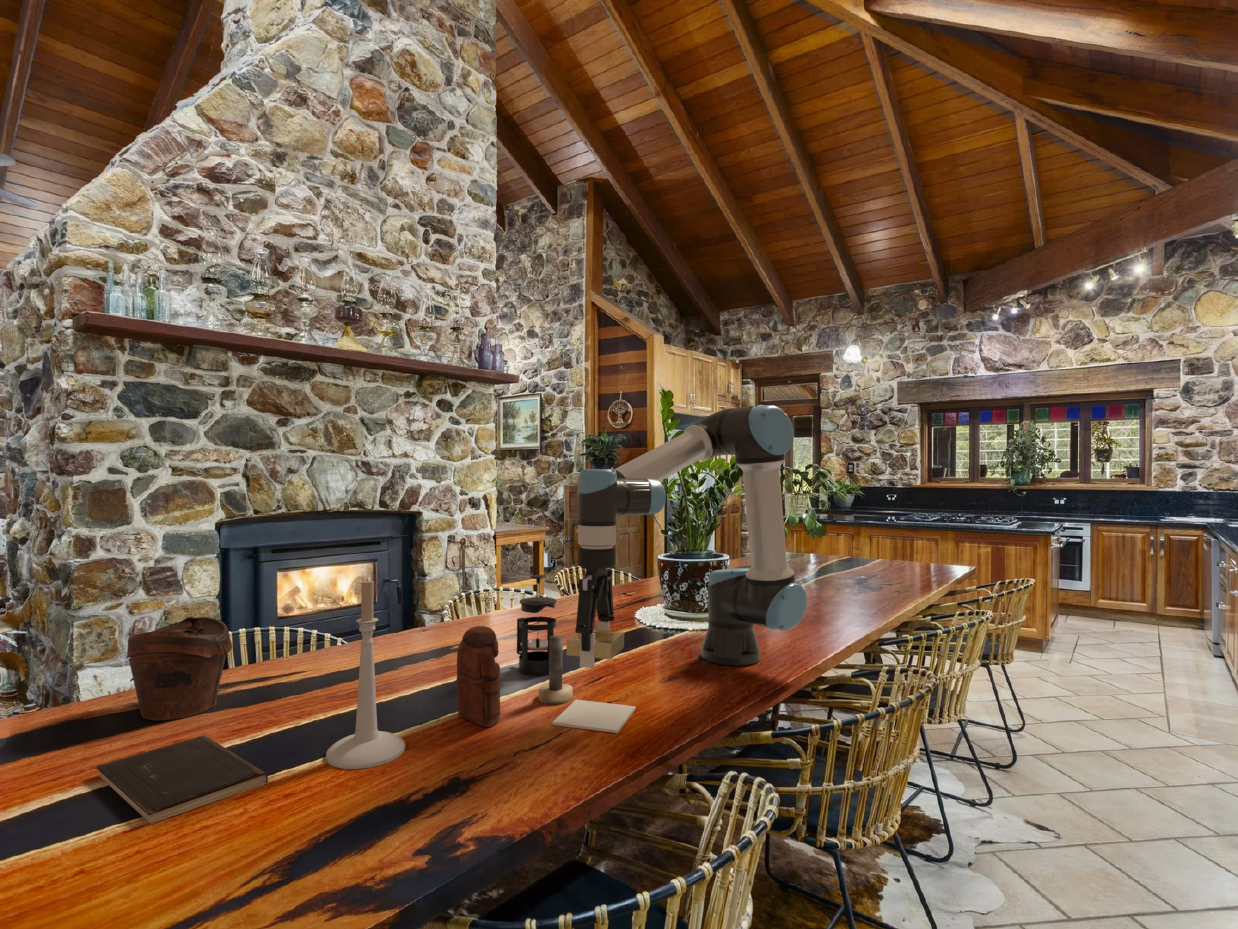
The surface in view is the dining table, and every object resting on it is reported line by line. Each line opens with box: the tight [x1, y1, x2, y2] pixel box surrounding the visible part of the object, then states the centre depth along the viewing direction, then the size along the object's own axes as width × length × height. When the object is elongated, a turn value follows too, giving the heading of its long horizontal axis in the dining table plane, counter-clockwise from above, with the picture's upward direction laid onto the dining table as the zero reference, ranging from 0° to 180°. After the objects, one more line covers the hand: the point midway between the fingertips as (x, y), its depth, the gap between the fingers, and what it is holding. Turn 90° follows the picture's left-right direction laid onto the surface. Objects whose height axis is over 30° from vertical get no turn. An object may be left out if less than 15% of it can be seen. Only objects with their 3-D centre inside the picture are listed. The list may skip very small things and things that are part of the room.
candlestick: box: [325, 578, 406, 770], centre depth 115 cm, size 13×13×30 cm
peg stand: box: [538, 635, 574, 705], centre depth 143 cm, size 7×7×13 cm
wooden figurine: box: [456, 625, 501, 728], centre depth 131 cm, size 12×6×18 cm, turn 46°
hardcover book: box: [95, 735, 269, 825], centre depth 105 cm, size 16×23×2 cm
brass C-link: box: [566, 629, 625, 660], centre depth 132 cm, size 9×9×3 cm
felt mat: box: [552, 699, 636, 734], centre depth 132 cm, size 13×13×1 cm
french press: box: [516, 574, 557, 677], centre depth 163 cm, size 12×9×23 cm
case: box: [126, 616, 233, 722], centre depth 135 cm, size 18×20×18 cm
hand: (595, 660), depth 132 cm, fingers closed on brass C-link, 9 cm apart
